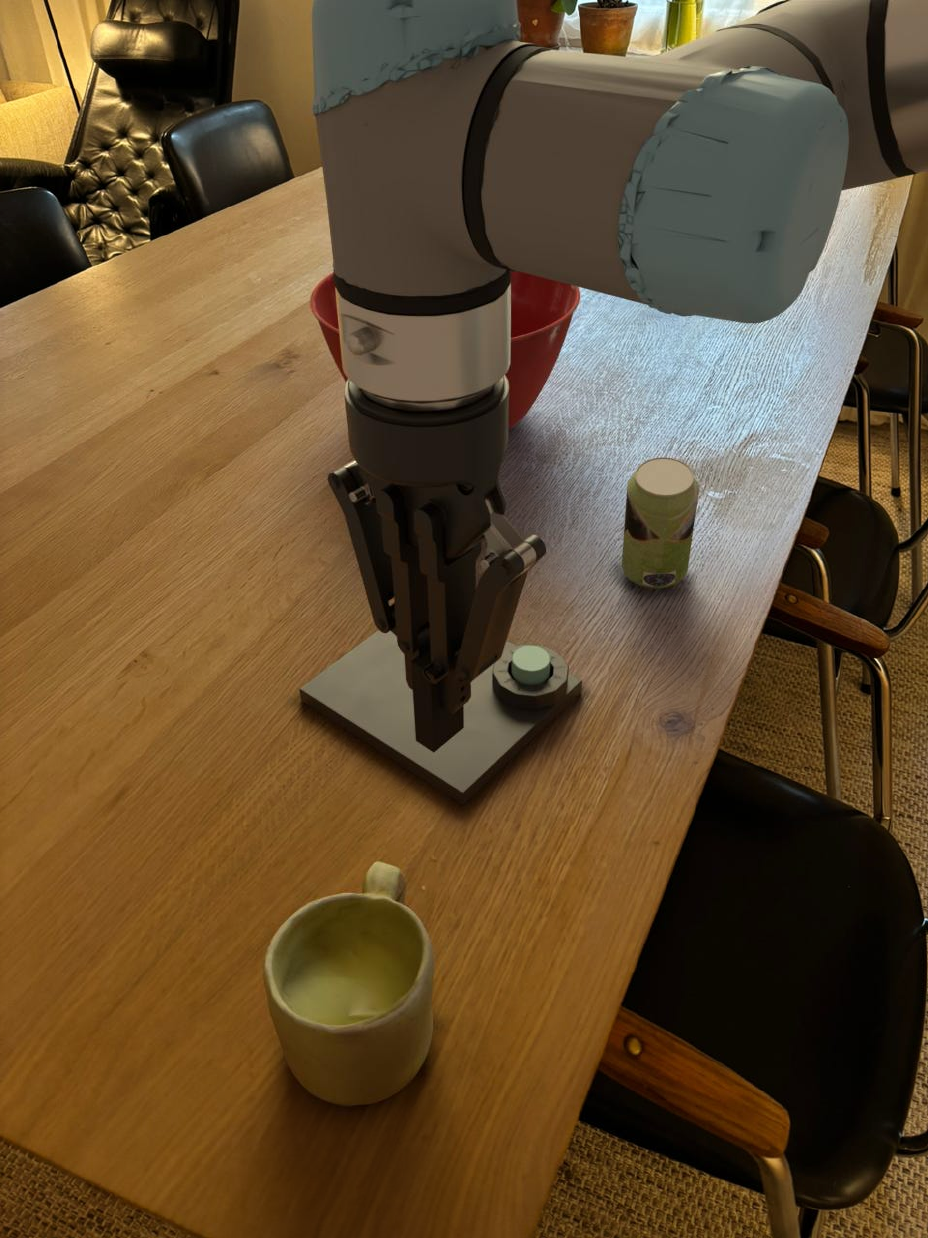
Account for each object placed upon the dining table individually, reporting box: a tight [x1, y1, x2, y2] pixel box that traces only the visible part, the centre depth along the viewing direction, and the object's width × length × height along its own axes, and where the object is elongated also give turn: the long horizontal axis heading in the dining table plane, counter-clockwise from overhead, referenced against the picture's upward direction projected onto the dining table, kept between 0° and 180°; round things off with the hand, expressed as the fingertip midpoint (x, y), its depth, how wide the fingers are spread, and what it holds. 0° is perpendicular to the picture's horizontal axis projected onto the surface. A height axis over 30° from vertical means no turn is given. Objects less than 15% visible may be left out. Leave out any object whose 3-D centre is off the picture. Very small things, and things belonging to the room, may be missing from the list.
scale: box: [298, 629, 583, 806], centre depth 79 cm, size 17×15×3 cm
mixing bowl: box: [309, 271, 581, 431], centre depth 110 cm, size 28×28×16 cm
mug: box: [262, 860, 435, 1107], centre depth 57 cm, size 12×10×10 cm
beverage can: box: [621, 456, 700, 589], centre depth 88 cm, size 6×7×12 cm
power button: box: [512, 646, 550, 685], centre depth 78 cm, size 3×3×2 cm
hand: (439, 733), depth 60 cm, fingers closed
